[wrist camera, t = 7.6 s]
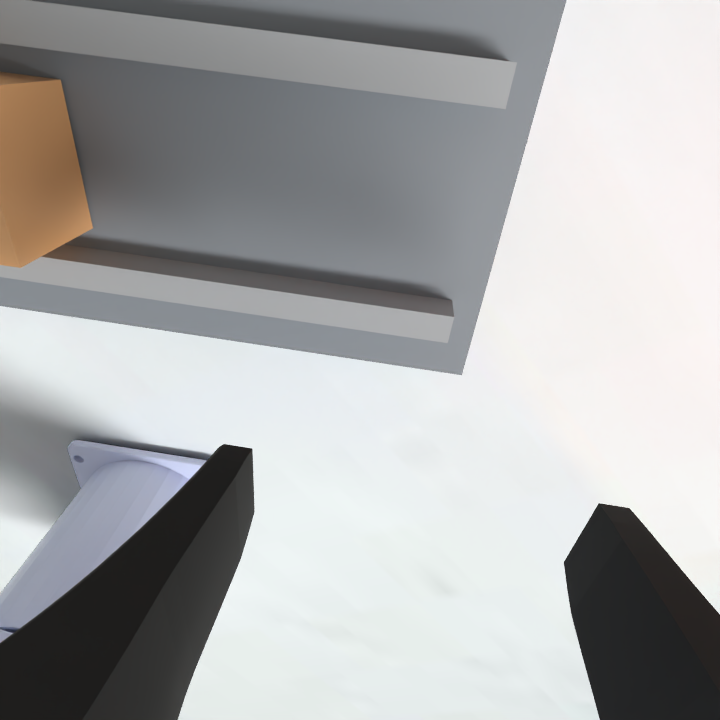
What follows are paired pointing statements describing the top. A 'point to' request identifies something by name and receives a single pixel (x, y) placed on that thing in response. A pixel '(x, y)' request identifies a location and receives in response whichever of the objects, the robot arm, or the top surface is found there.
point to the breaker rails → (286, 165)
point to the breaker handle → (37, 171)
